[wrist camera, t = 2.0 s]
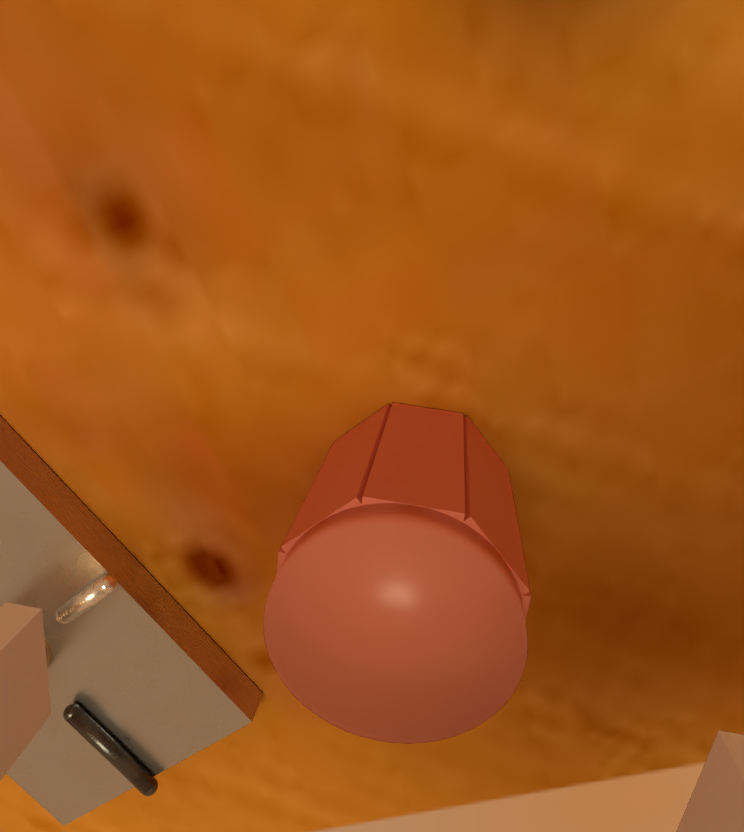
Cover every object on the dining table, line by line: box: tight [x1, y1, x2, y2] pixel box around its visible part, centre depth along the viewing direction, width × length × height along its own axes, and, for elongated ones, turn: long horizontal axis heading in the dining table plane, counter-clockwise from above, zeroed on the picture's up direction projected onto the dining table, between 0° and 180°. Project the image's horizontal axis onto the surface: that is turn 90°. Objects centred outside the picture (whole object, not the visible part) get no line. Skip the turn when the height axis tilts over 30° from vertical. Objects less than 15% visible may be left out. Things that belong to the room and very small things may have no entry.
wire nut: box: [263, 402, 531, 744], centre depth 18 cm, size 6×6×8 cm
